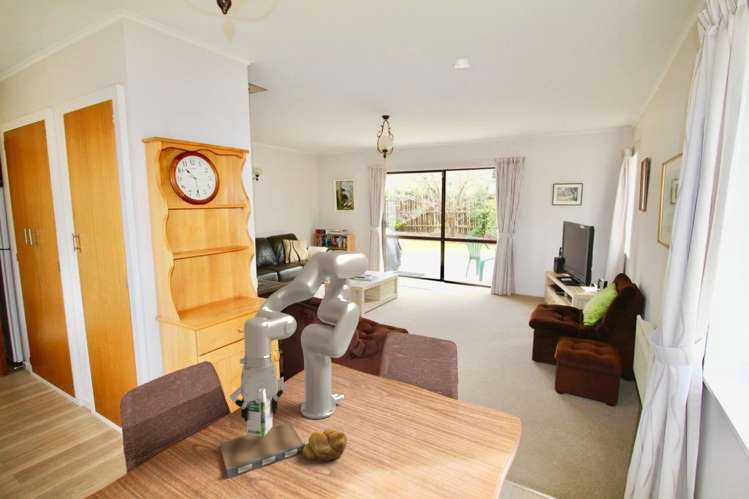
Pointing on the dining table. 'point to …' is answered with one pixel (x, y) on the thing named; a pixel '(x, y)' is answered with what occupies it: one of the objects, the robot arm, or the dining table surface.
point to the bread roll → (325, 445)
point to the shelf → (260, 449)
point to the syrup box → (260, 415)
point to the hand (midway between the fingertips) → (259, 415)
